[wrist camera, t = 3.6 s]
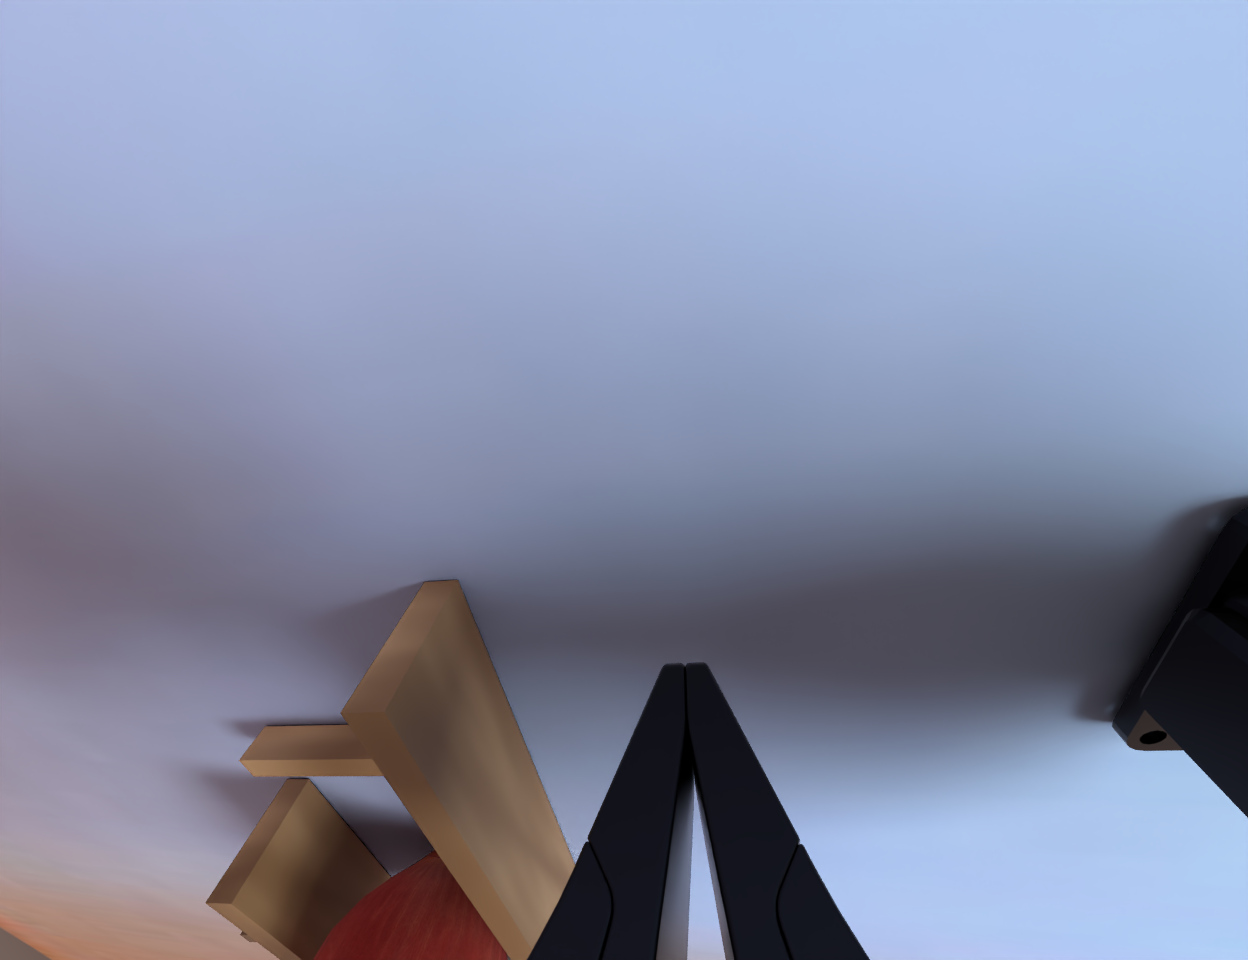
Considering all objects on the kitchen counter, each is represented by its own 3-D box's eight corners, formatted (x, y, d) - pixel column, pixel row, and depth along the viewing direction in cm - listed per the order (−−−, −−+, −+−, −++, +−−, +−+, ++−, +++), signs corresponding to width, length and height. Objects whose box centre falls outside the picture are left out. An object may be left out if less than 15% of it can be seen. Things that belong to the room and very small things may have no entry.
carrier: (457, 579, 11) (384, 711, 8) (596, 916, 19) (585, 1035, 16) (131, 600, 12) (-34, 722, 9) (400, 909, 20) (358, 1019, 18)
